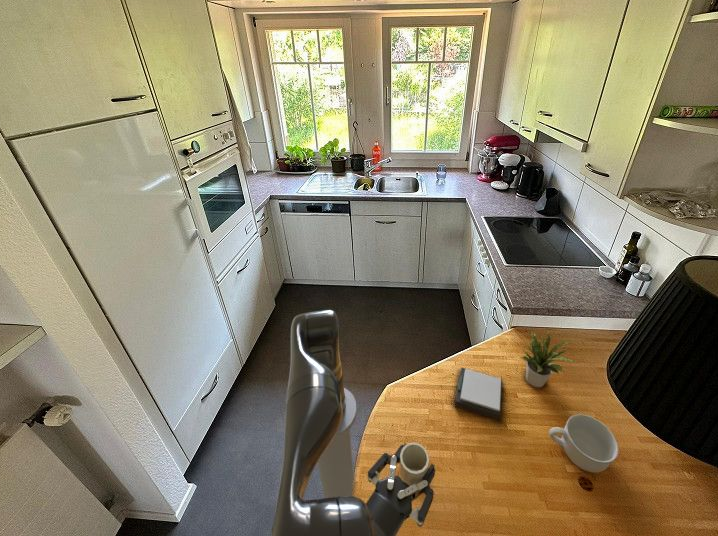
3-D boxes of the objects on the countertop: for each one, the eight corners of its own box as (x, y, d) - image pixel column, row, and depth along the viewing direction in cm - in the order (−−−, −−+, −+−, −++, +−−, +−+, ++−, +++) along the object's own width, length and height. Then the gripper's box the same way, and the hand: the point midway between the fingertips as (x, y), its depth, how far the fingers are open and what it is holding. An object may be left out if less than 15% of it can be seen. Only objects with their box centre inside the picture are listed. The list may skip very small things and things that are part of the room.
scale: (454, 406, 90) (455, 399, 89) (460, 372, 100) (461, 365, 99) (499, 420, 87) (501, 413, 85) (501, 384, 97) (502, 376, 95)
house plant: (573, 381, 97) (589, 342, 90) (555, 412, 89) (571, 371, 81) (526, 355, 106) (537, 317, 99) (506, 380, 98) (517, 341, 90)
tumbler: (395, 491, 72) (396, 467, 68) (403, 462, 78) (405, 438, 73) (422, 502, 70) (425, 478, 66) (428, 472, 76) (432, 448, 71)
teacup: (604, 443, 81) (615, 424, 78) (611, 489, 73) (623, 470, 69) (544, 421, 87) (551, 402, 83) (543, 461, 78) (551, 441, 74)
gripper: (405, 554, 55) (450, 468, 67) (343, 494, 63) (393, 426, 75) (404, 571, 59) (446, 486, 70) (346, 512, 66) (393, 445, 78)
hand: (419, 456), depth 72 cm, fingers closed on tumbler, 6 cm apart
